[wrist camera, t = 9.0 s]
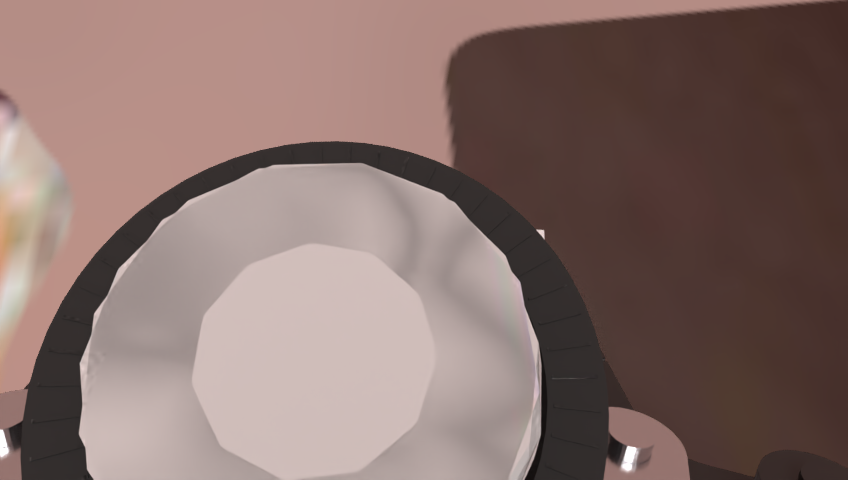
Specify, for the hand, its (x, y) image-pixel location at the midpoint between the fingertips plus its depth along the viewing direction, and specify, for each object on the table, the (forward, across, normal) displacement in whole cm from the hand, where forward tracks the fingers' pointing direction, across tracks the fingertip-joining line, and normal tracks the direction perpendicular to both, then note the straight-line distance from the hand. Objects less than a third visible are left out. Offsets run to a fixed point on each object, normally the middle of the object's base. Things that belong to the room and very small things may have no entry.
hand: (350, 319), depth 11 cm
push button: (+1, 0, +5) cm, 5 cm away
